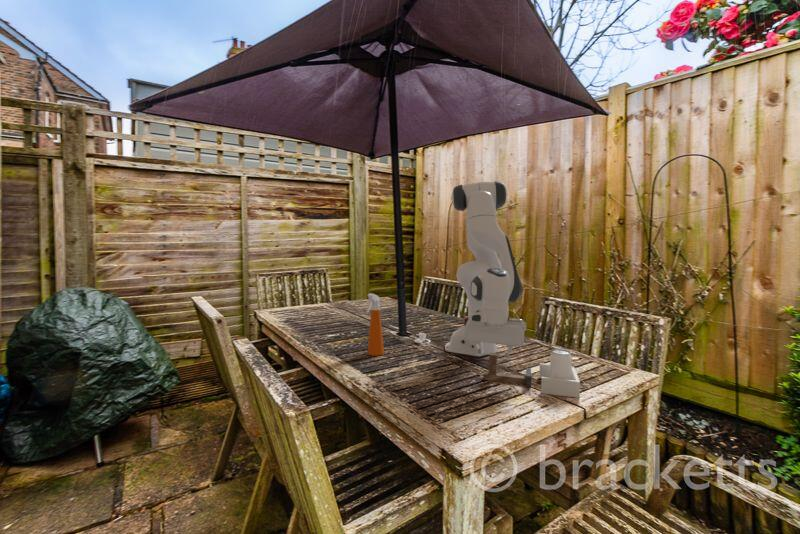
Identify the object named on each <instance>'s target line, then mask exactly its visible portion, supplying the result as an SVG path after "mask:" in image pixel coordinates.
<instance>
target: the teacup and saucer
mask: <svg viewBox="0 0 800 534" xmlns="http://www.w3.org/2000/svg"><path fill="white" fill-rule="evenodd" d="M425 341H427V342H425ZM413 342H414V343H416V344H419V345H420V344H422V345H425V344H429V343H431V342H432V341H431V339H428V338H427V333H425V332H419V333H418V338H417V339H414V340H413Z"/></svg>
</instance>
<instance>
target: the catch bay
mask: <svg viewBox="0 0 800 534" xmlns="http://www.w3.org/2000/svg"><path fill="white" fill-rule="evenodd" d="M538 378H539V379H541V380H540V381H541V384H540V385H541V386H540V392H541V393H540V394H546V395H555V396H562V397H569V398H577V399H580V397H581V396H580V394H581V393H580V391H581V381H580V379H579V378H580V377H579V375H578V373H577V370H576V368H575V366H572V371H571V380H567V379H558V378H550V363H541V362H540V363H539V375H538Z"/></svg>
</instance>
